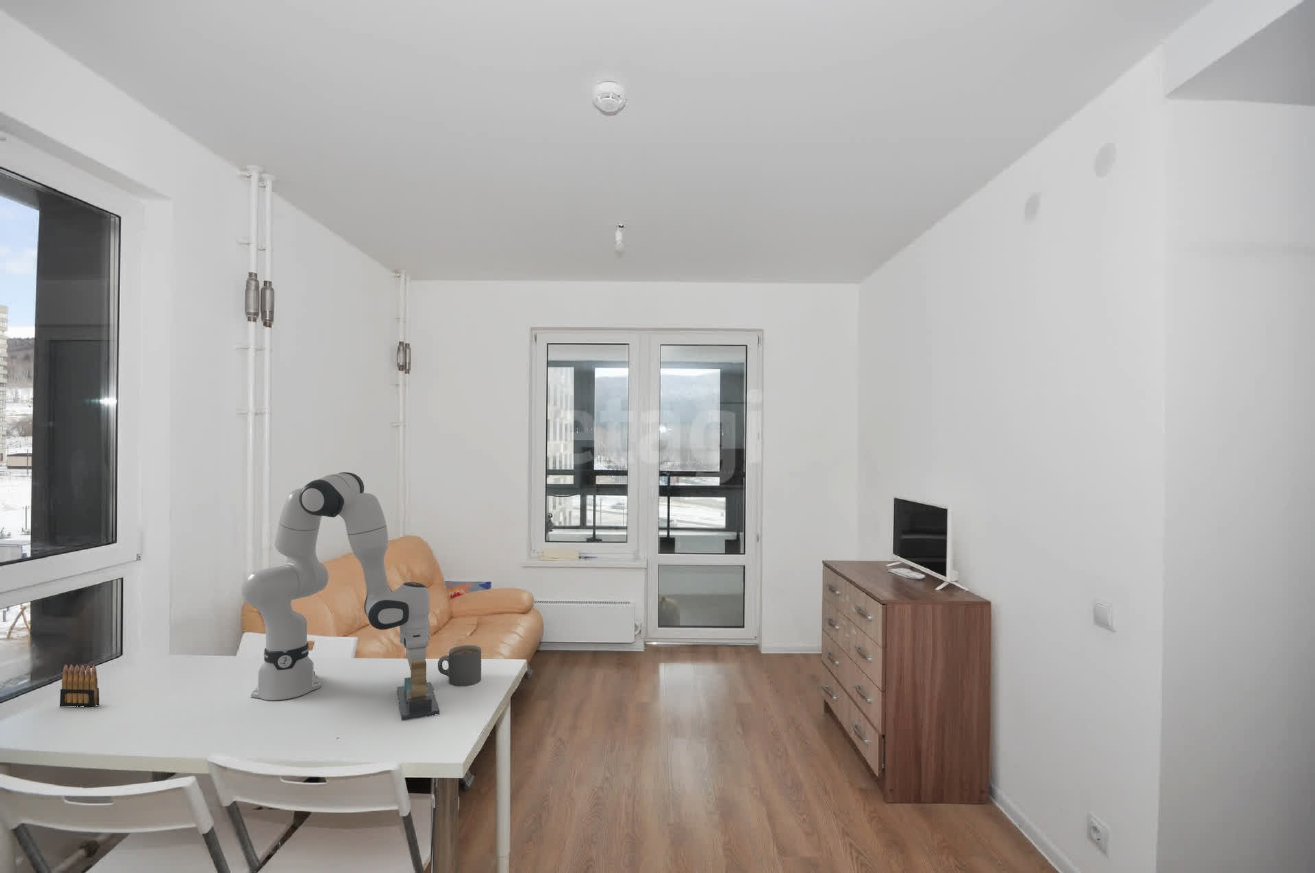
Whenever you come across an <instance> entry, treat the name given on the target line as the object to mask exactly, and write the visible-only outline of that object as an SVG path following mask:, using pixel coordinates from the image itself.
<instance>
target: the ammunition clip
mask: <svg viewBox="0 0 1315 873" xmlns="http://www.w3.org/2000/svg"><path fill="white" fill-rule="evenodd" d="M98 684H99V682H98V674H97V667H96V665H95V664H94V665H92V668H91V667H90V665H89V664H88V665H87V666H86V669H85V666H84V665H83V664H81V666H80V667H79V665H78V664H76V665H75V667H74V665H73V664H70V666H69V667H68V665H67V664H64V667H63V670H62V680H61V688H60V690H59V691H60V693H59V707H60V706H76V707H75V708H81V707H80V706H84V707H83V708H85V707H94V706H96V705H99V706H100V689H99V687H98ZM77 706H78V707H77ZM96 707H97V706H96ZM94 708H95V707H94Z"/></svg>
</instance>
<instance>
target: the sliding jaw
mask: <svg viewBox="0 0 1315 873" xmlns="http://www.w3.org/2000/svg"><path fill="white" fill-rule="evenodd" d="M427 683H428V681H427V679H426V695H428V694H429V687H428V684H427ZM403 684H404V685H403V686H404V688H405V693H406V699H407V702H408V697H411V676H409V677H404V683H403Z"/></svg>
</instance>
